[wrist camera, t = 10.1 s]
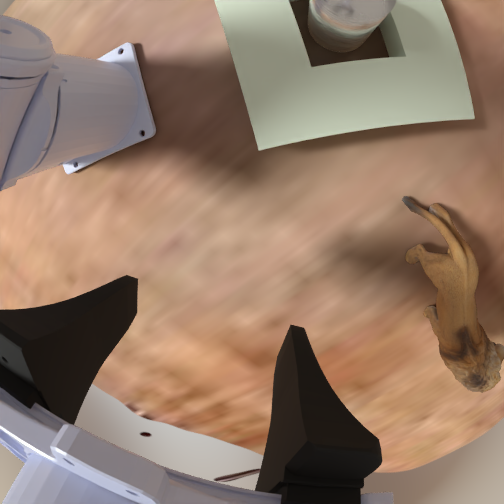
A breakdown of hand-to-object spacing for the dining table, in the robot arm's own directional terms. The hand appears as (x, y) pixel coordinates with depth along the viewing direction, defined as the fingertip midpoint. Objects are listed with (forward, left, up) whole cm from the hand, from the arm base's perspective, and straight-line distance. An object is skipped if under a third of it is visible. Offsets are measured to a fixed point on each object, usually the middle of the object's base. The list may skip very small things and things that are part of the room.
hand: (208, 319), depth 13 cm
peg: (+10, +13, -10) cm, 19 cm away
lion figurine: (+15, -6, -10) cm, 19 cm away
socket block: (+10, +13, -10) cm, 19 cm away
